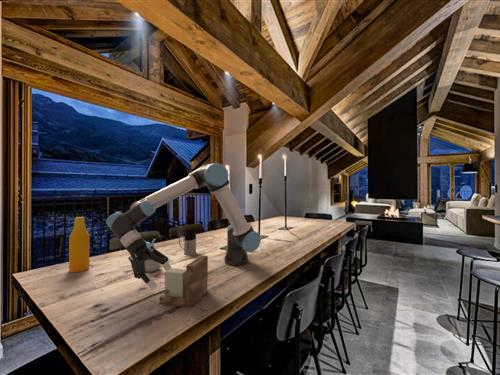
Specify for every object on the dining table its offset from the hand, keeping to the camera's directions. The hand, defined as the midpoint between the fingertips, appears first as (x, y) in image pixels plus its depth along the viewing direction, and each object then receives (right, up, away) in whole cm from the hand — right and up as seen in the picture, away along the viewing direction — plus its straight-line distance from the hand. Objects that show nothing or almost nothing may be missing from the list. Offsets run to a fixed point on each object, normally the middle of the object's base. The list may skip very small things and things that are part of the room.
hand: (164, 281), depth 99 cm
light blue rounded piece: (-35, -6, +58) cm, 68 cm away
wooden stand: (+8, -7, +1) cm, 11 cm away
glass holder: (-7, -7, +62) cm, 63 cm away
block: (+5, -7, -1) cm, 9 cm away
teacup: (-19, -7, +33) cm, 39 cm away
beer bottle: (-59, -6, +32) cm, 67 cm away
